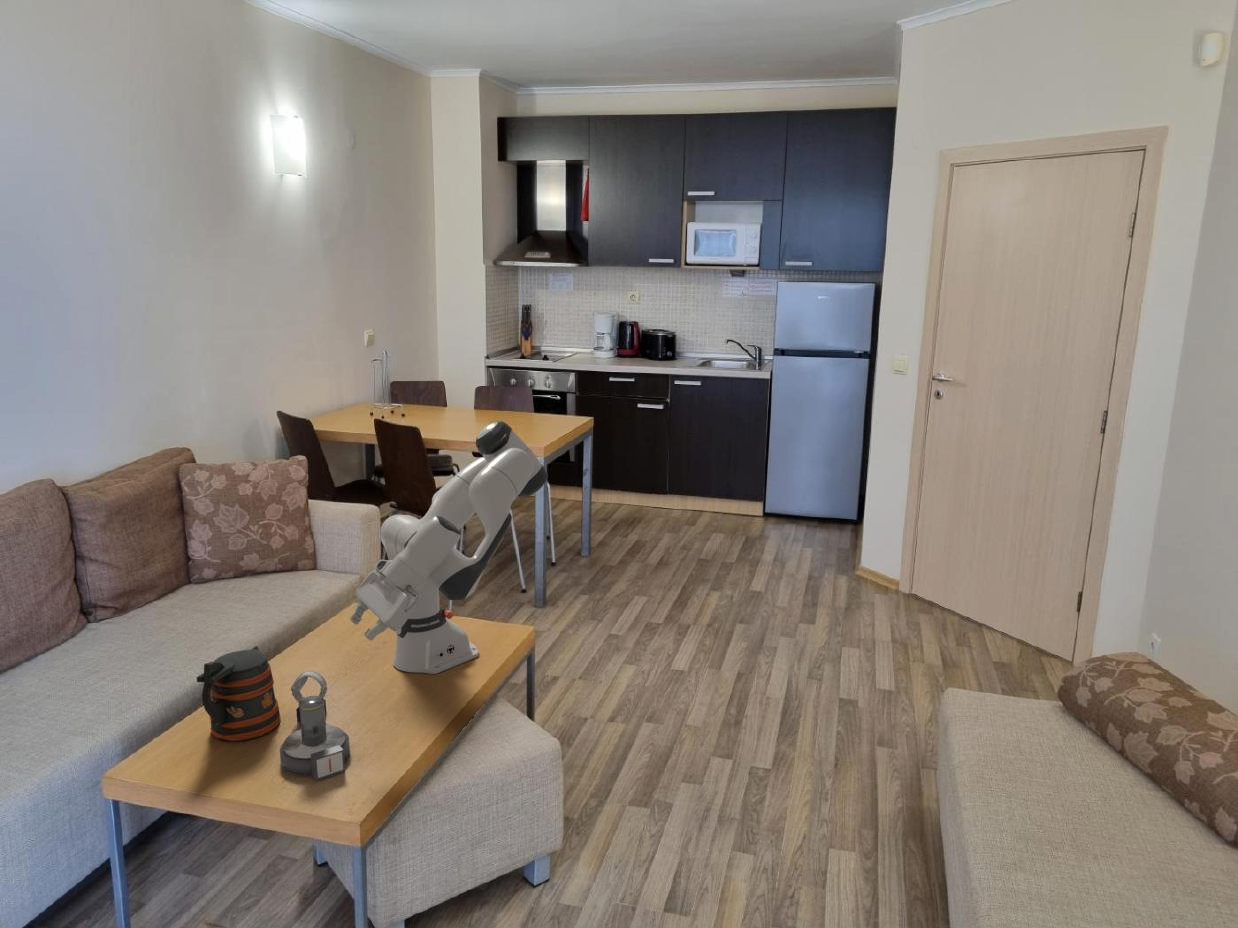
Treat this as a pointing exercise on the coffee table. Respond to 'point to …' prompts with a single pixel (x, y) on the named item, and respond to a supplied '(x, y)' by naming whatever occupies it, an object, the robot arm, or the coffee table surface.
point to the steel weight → (312, 720)
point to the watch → (300, 683)
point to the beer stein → (240, 695)
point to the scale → (318, 762)
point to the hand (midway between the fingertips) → (359, 629)
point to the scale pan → (300, 751)
